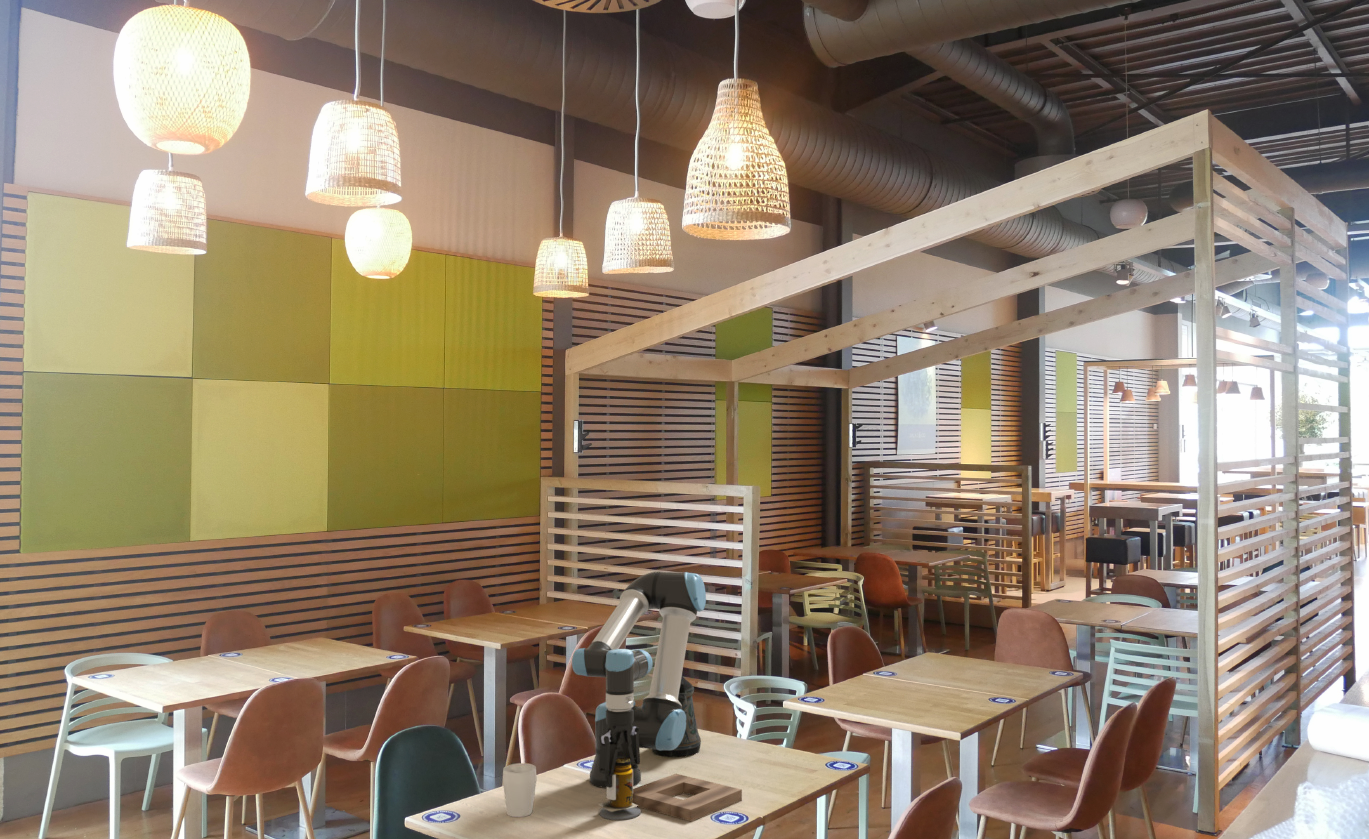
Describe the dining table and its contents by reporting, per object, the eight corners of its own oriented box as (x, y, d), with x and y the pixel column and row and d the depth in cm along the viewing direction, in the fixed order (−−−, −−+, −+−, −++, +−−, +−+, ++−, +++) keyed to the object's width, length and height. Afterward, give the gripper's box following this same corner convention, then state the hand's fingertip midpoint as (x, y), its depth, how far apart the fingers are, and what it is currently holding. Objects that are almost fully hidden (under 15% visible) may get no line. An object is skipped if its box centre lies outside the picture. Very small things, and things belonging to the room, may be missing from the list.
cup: (521, 805, 281) (521, 761, 281) (543, 812, 275) (543, 766, 276) (495, 814, 274) (495, 768, 275) (518, 821, 268) (518, 774, 269)
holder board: (624, 802, 283) (624, 791, 283) (676, 783, 299) (676, 773, 300) (691, 821, 267) (691, 809, 267) (741, 800, 284) (741, 789, 284)
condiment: (638, 806, 273) (638, 760, 273) (611, 812, 268) (611, 765, 269) (624, 799, 279) (624, 754, 279) (597, 804, 274) (597, 759, 275)
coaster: (590, 814, 273) (590, 811, 273) (619, 803, 282) (619, 801, 282) (620, 822, 266) (620, 820, 266) (649, 812, 275) (649, 809, 275)
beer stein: (680, 741, 347) (679, 666, 348) (717, 753, 332) (716, 675, 333) (640, 749, 337) (640, 672, 338) (676, 762, 321) (676, 682, 323)
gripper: (605, 716, 266) (605, 807, 265) (653, 704, 280) (654, 789, 279) (584, 712, 271) (584, 801, 269) (633, 700, 285) (633, 784, 284)
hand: (620, 795), depth 274 cm, fingers closed on condiment, 6 cm apart
